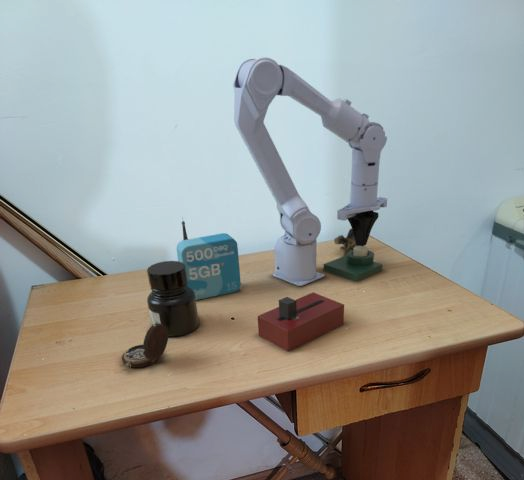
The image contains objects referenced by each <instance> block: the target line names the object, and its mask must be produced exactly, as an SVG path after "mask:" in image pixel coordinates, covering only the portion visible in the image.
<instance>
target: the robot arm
mask: <svg viewBox="0 0 524 480" xmlns="http://www.w3.org/2000/svg"><path fill="white" fill-rule="evenodd" d="M232 86H233V87H232V88H233V94H234V97H233V98H234V102H233V103H234V104H233V105H234V106H233V107H234V108H233V109H234V112H233V119H234V120H233V121H234V125H235V128H236V130H237V131H238V133H239V135H240V137H241V139H242V141H243V143H244V145H245V146H246V148H247V151H248V152H249V154H250V156H251V158H252V159H253V162H254V163H255V165H256V167H257V169H258V171H259V173H260V175H261V177H262V178H263V180H264V183H265V184H266V186H267V188H268V190H269V192H270V194H271V196H272V197H273V199H274V201H275V203H276V210H277V211H278V214H279V224H280V226H281V228H282V229H283V230H284V234H283V235H281V236H279V237H278V238H277V240H276V242H275V244H274V248H273V256H274V272H273V273H272V276H273V277H275V278H277V279H279V280H282V281H284V282H287V283H289V284H292V285H294V286H297V287H303V286H306V285H307V284H310V283H312V282H316V281H318V280H320V279H322V278H324V277H325V273H321V272H318V271H317V238H318V237H319V235H320V233H321V231H322V222H321V221H320V218H319V217H318V216H317V215H315V214H314V213H313V212H311V210H310V207H309V206H308V205H307V203H306V202H305V200H304V199H303V198H302V197H301V195H300V194H299V191H298V190H297V188H296V186H295V183H294V181H293V180H292V178H291V175H290V173H289V171H288V169H287V168H286V164H285V163H284V161H283V159H282V157H281V155H280V153H279V151H278V149H277V147H276V145H275V143H274V141H273V139H272V137H271V135H270V133H269V131H268V129H267V127H266V125H265V119H266V116H267V112H268V109H269V106H270V105H271V104H272V102H273V101H274V99H275V98H276V97H277V96H280V97H289V98H291V99H292V100H294V101H296V103H298V104H300V105H302V106H304V107H305V108H307V109H308V110H310V111H311V112H313V113H315V114H317V115H318V116H320V118H321V125H322V127H323V128H325V129H326V130H327V131H329V132H331V133H332V134H334V135H335V136H337V137H338V138H340V139H341V140H343V141H344V142H346V143H347V144H348V146H349V148H351V149H352V151H351V170H350V171H351V172H350V173H351V174H350V194H349V197H350V198H349V203H348V204H346V205H345V206H344V207H342V208H340V209H337V214H336V219H337V220H338V221H339V220H340V221H343V222H345V221H348V222H349V225H350V227H351V229H352V230H353V233H354V238H355V242H356V245H359V246H365V247H366V245H367V244H368V241H369V238H370V234H371V231H372V229H373V227H374V225H375V223H376V222H377V220H378V219H379V212H377V211H379V210H381V208H387V206H388V198H387V197H383V196H379V197H378V189H379V188H378V187H379V173H380V163H381V162H380V161H381V153H382V151H383V149H384V148H385V146H386V144H387V141H388V136H386V132H385V130H384V127H383V125H382V124H381V123H378V122H375V121H370V120H369V118H370V116H369V115H368V114H367V113H364V112H363V113H361V112H360V111H358V110H357V109H355V108H354V107H353V106H351V105H352V101H351V100H349V99H348V98H343V99H342V98H335V99H333V100H331V99H329V98H328V97H326V95H324V94H323V93H321V92H320V91H319V90H318V89H316V88H315V87H314V86H313V85H311V84H310V83H309V82H308V81H306V80H305V79H303V78H302V77H301V76H300V75H298V74H297V73H295V71H293V70H291V69H290V68H289V67H287V66H285V65H283V64H279V63H278V62H277V61H276V60H275V59H272V58H271V57H268V56H267V57H265V56H264V57H260V58H258V59H256V58H249V59H247V60H244V61H243V62H242V63H241V64H240V65H239V67H238V69H237V72H236V75H235V77H234V81H233V83H232Z"/></svg>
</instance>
